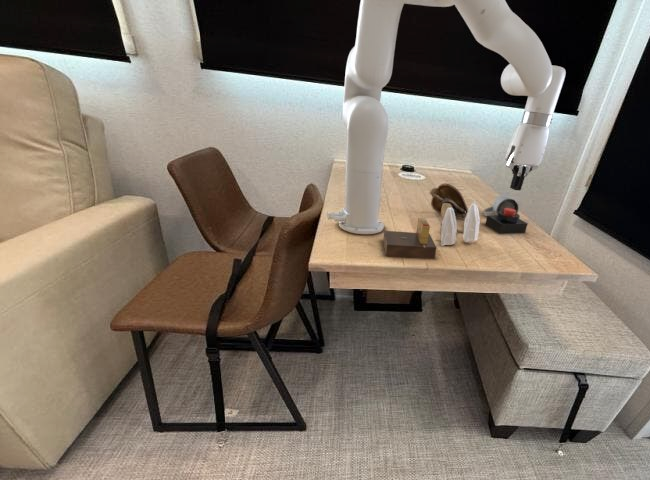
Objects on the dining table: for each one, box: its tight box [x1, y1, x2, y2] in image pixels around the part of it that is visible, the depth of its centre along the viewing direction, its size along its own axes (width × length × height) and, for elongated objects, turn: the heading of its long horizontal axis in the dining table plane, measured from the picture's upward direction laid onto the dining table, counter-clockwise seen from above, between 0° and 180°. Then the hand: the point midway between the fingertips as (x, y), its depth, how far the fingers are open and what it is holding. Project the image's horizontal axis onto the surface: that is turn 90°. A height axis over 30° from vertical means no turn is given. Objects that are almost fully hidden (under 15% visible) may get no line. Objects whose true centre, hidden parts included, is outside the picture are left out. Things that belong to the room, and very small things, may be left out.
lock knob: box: [415, 217, 431, 244], centre depth 80 cm, size 6×2×5 cm, turn 6°
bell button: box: [503, 208, 516, 216], centre depth 103 cm, size 4×4×2 cm
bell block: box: [484, 211, 529, 235], centre depth 105 cm, size 10×8×5 cm
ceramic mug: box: [483, 194, 520, 217], centre depth 115 cm, size 11×8×8 cm
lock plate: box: [382, 230, 441, 260], centre depth 82 cm, size 14×10×3 cm
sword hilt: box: [429, 182, 469, 233], centre depth 101 cm, size 10×24×15 cm
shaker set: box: [440, 202, 481, 247], centre depth 88 cm, size 12×4×11 cm, turn 107°
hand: (515, 189), depth 99 cm, fingers closed
